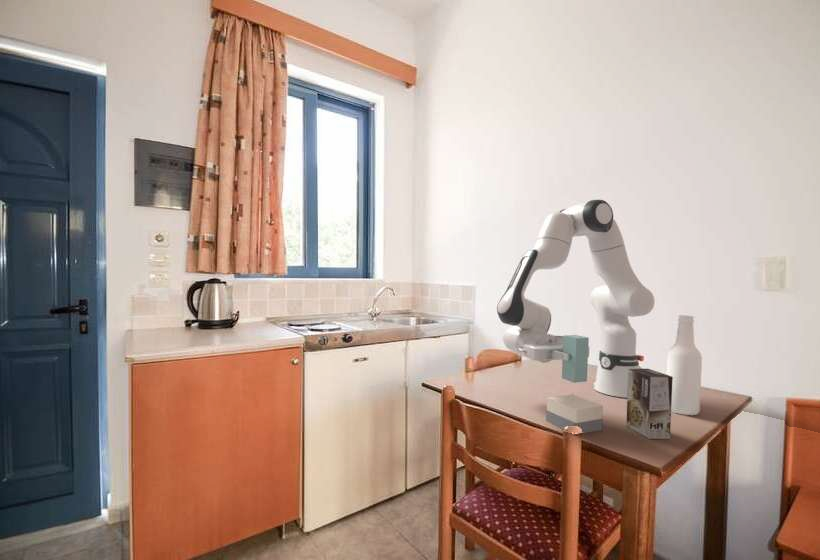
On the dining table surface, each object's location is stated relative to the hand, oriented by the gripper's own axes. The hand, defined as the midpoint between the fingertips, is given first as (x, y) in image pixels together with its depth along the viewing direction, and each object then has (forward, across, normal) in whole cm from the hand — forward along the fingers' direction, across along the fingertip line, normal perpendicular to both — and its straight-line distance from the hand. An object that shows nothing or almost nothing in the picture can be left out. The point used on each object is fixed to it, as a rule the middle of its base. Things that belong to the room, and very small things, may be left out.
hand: (577, 357), depth 104 cm
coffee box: (+9, +16, +19) cm, 27 cm away
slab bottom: (0, 0, +19) cm, 19 cm away
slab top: (0, 0, +16) cm, 16 cm away
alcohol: (+1, +43, +19) cm, 47 cm away
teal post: (-1, 0, +6) cm, 7 cm away
